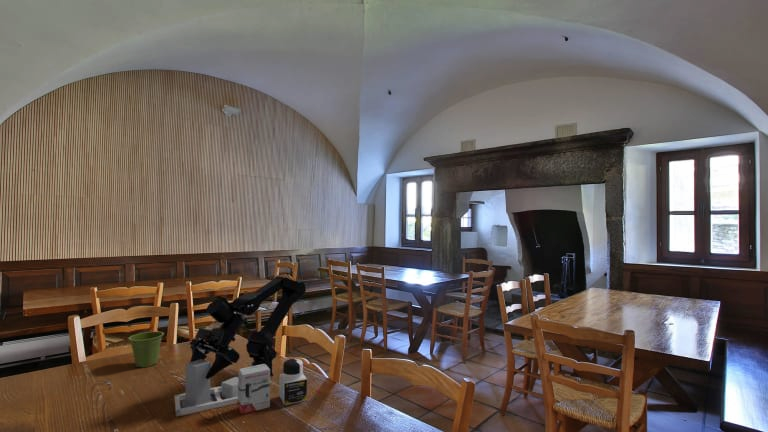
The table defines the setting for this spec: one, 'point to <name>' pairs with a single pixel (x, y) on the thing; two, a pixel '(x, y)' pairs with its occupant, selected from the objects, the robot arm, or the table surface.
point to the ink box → (253, 388)
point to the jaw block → (197, 382)
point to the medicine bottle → (292, 382)
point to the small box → (229, 388)
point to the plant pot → (146, 348)
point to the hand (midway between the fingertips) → (197, 375)
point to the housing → (206, 406)
